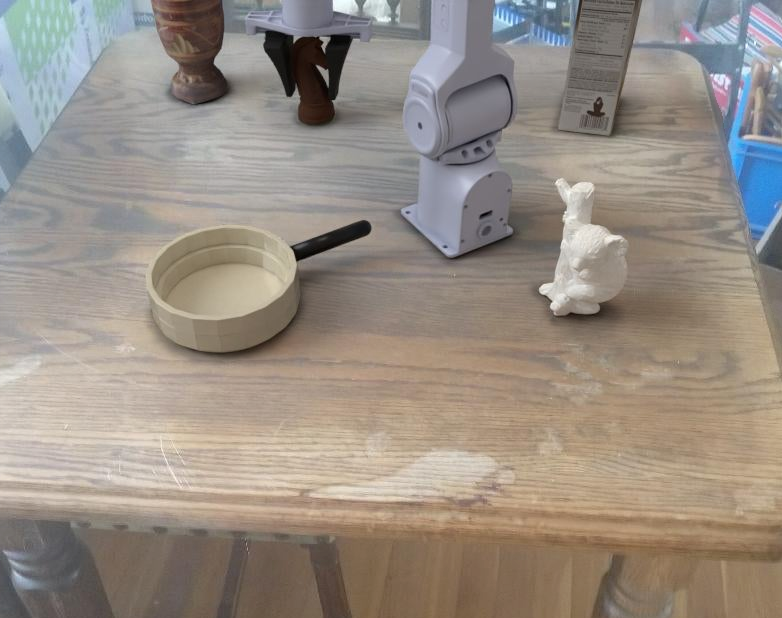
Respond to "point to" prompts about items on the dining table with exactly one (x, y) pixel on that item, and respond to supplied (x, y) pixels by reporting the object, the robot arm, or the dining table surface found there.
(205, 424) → the dining table surface
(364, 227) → the pan handle
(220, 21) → the painted clay vase
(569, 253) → the koala figurine
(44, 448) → the dining table surface
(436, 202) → the robot arm
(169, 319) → the pan
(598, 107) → the coffee box
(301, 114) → the chess piece
